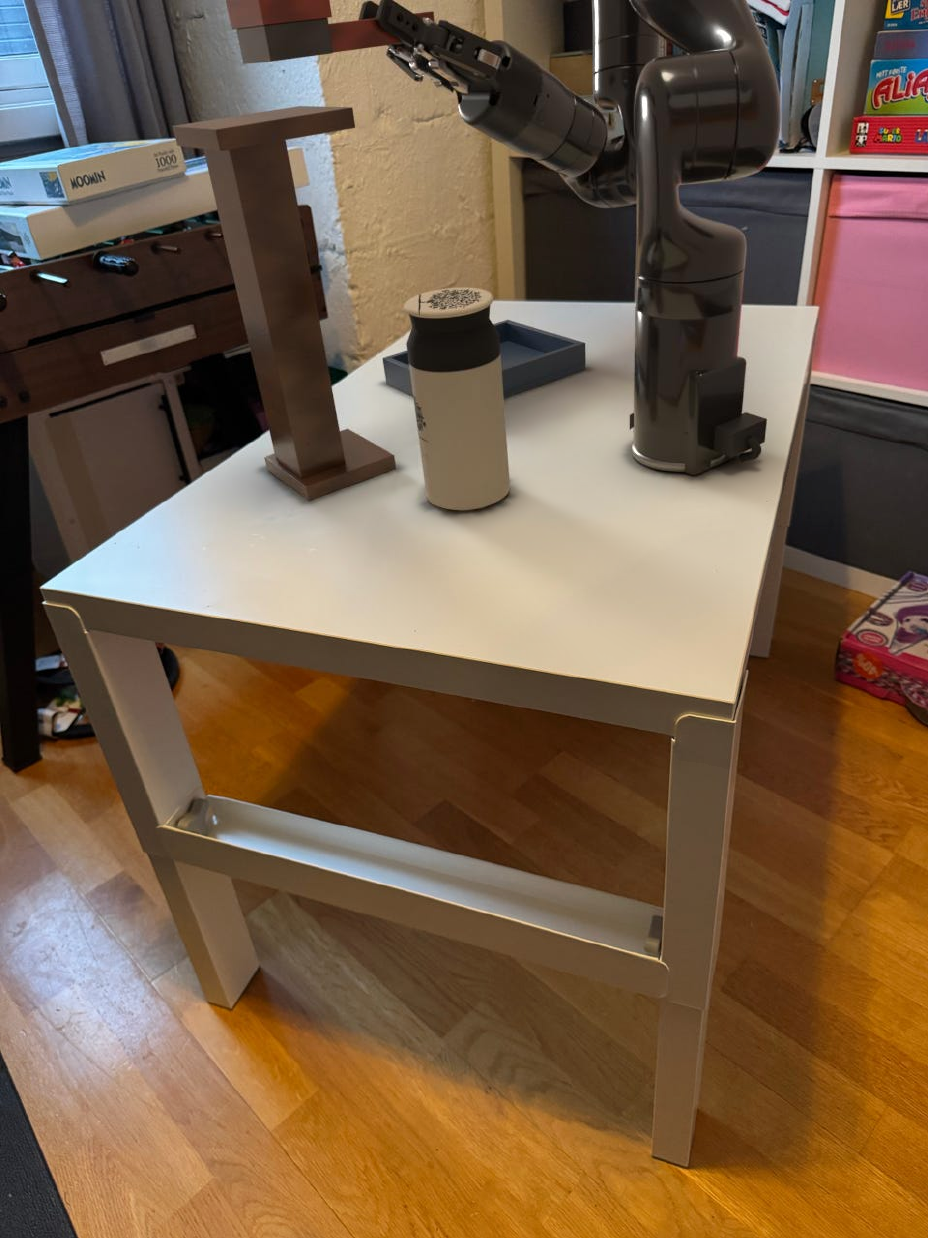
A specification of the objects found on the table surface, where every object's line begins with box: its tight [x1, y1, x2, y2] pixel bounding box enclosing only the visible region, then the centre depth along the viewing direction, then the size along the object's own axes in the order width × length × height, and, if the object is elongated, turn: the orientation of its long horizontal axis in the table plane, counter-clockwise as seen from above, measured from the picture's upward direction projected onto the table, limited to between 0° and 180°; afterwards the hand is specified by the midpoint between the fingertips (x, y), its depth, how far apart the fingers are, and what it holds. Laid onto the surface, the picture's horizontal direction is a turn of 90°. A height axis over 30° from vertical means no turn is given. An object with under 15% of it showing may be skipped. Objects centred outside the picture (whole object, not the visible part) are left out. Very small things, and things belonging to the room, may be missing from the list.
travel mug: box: [403, 287, 511, 511], centre depth 78 cm, size 8×8×18 cm
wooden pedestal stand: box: [172, 105, 397, 501], centre depth 82 cm, size 12×10×32 cm
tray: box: [381, 319, 587, 399], centre depth 109 cm, size 16×20×3 cm
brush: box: [225, 0, 436, 65], centre depth 73 cm, size 17×6×5 cm, turn 125°
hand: (371, 11), depth 75 cm, fingers closed on brush, 2 cm apart
